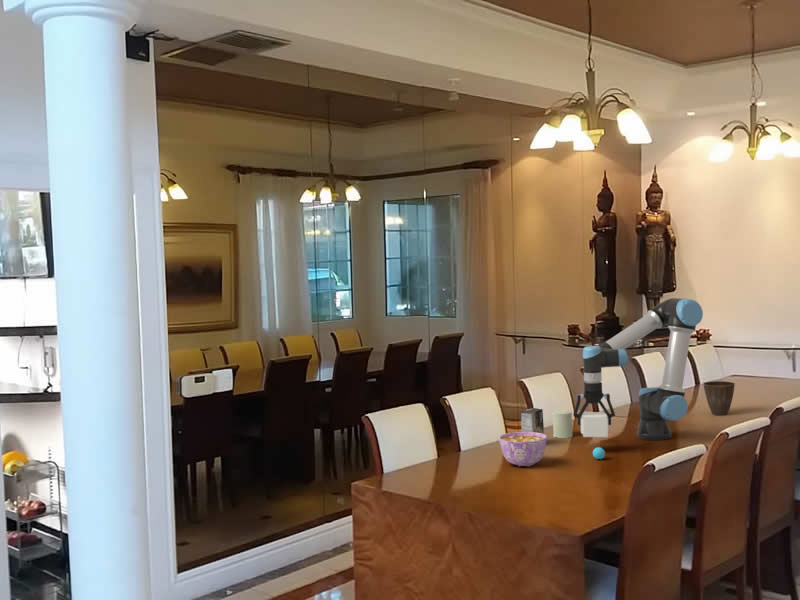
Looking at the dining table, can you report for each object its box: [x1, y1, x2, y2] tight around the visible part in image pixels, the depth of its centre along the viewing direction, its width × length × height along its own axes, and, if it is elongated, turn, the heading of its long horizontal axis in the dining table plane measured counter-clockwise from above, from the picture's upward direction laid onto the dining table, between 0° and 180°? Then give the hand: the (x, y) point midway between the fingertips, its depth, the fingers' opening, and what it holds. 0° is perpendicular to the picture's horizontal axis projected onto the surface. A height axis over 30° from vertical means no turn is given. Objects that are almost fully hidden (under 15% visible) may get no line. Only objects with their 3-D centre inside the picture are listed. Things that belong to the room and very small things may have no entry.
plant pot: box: [703, 380, 736, 417], centre depth 414 cm, size 15×15×16 cm
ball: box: [592, 446, 606, 460], centre depth 337 cm, size 5×5×5 cm
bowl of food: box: [498, 431, 548, 467], centre depth 336 cm, size 20×20×12 cm
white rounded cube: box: [581, 411, 609, 438], centre depth 350 cm, size 10×10×9 cm
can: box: [551, 409, 574, 439], centre depth 385 cm, size 9×9×12 cm
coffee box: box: [520, 407, 545, 434], centre depth 370 cm, size 9×6×16 cm
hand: (594, 432), depth 351 cm, fingers closed on white rounded cube, 10 cm apart
